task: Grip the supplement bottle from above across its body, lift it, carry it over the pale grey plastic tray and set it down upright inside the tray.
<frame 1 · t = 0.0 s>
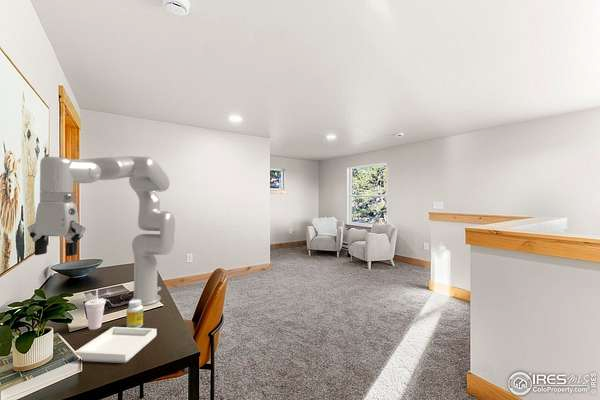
hand: (56, 254, 82), 31 cm above the table, tool pointing down, fingers open, 9 cm apart
smoothie: (94, 327, 102), on the table
supplement bottle: (134, 326, 103), on the table
tray: (118, 347, 89), on the table
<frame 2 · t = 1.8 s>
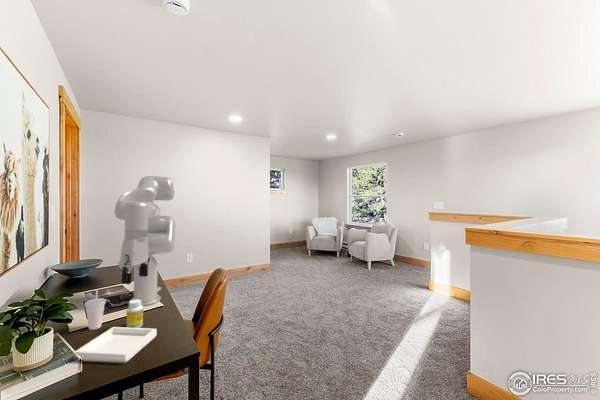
hand: (135, 279, 102), 18 cm above the table, tool pointing down, fingers open, 9 cm apart
nothing on the table moved.
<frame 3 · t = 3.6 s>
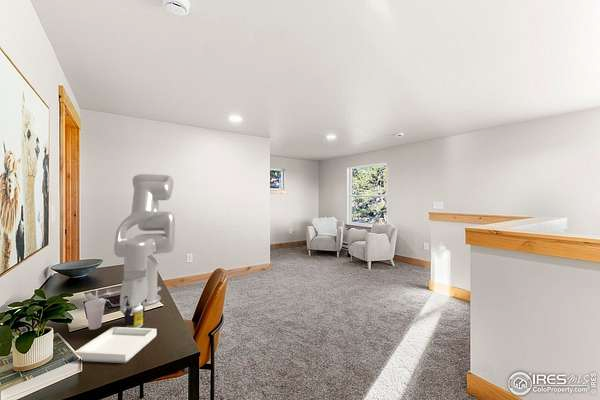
hand: (134, 321, 103), 2 cm above the table, tool pointing down, fingers closed on supplement bottle, 5 cm apart
supplement bottle: (134, 326, 103), on the table, touching gripper
everything else where it was.
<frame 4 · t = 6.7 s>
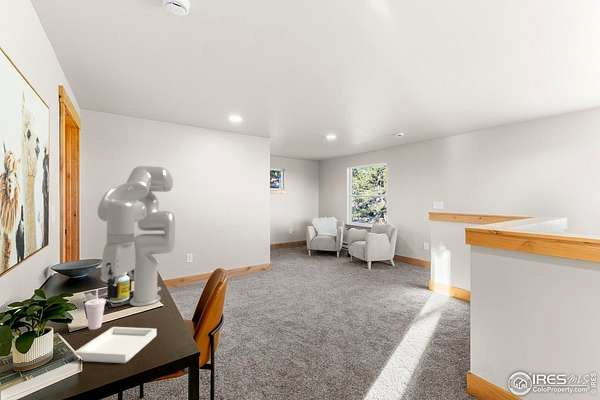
hand: (119, 293, 89), 17 cm above the table, tool pointing down, fingers closed on supplement bottle, 5 cm apart
supplement bottle: (119, 300, 89), point 15 cm above the table, touching gripper
everything else where it was.
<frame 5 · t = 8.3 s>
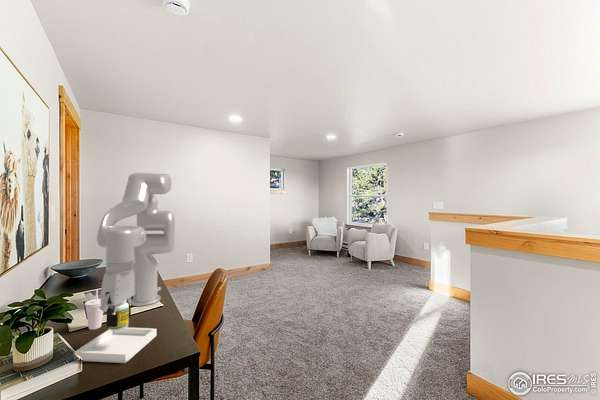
hand: (118, 321, 89), 8 cm above the table, tool pointing down, fingers closed on supplement bottle, 5 cm apart
supplement bottle: (118, 328, 89), point 6 cm above the table, touching gripper
everything else where it was.
when the fingers open (4 cm above the table, at t = 9.6 s): supplement bottle drops 1 cm, resting on tray.
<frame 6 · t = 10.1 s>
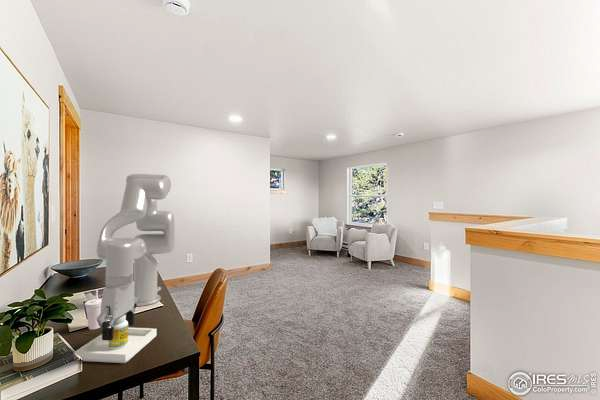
hand: (118, 332, 89), 5 cm above the table, tool pointing down, fingers open, 9 cm apart
supplement bottle: (118, 345, 89), resting on tray
everything else where it was.
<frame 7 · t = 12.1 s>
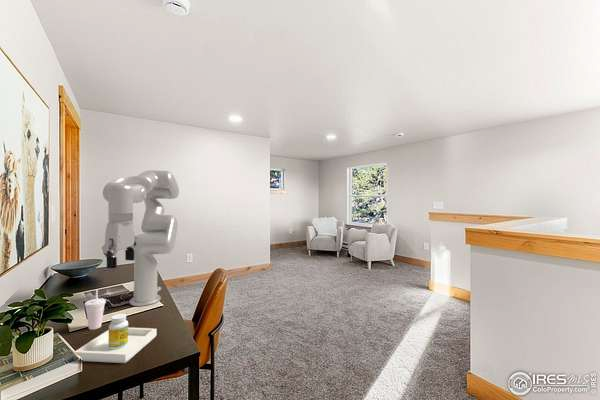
hand: (121, 263, 100), 24 cm above the table, tool pointing down, fingers open, 9 cm apart
nothing on the table moved.
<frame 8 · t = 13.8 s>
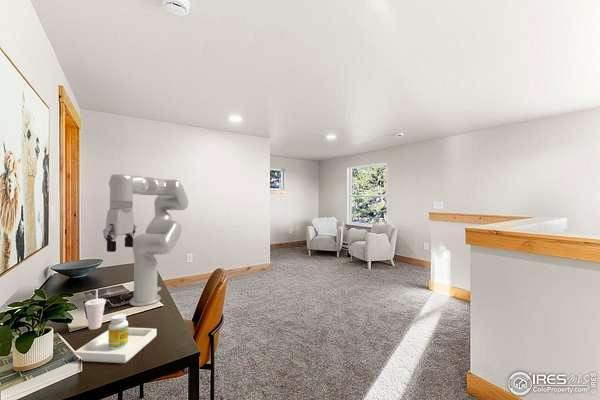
hand: (120, 249, 107), 28 cm above the table, tool pointing down, fingers open, 9 cm apart
nothing on the table moved.
at the end: supplement bottle inside the target area on the tray (0.1 cm from its centre), point 0.4 cm above the tray's base; supplement bottle tilted 0°; the gripper is holding nothing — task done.
